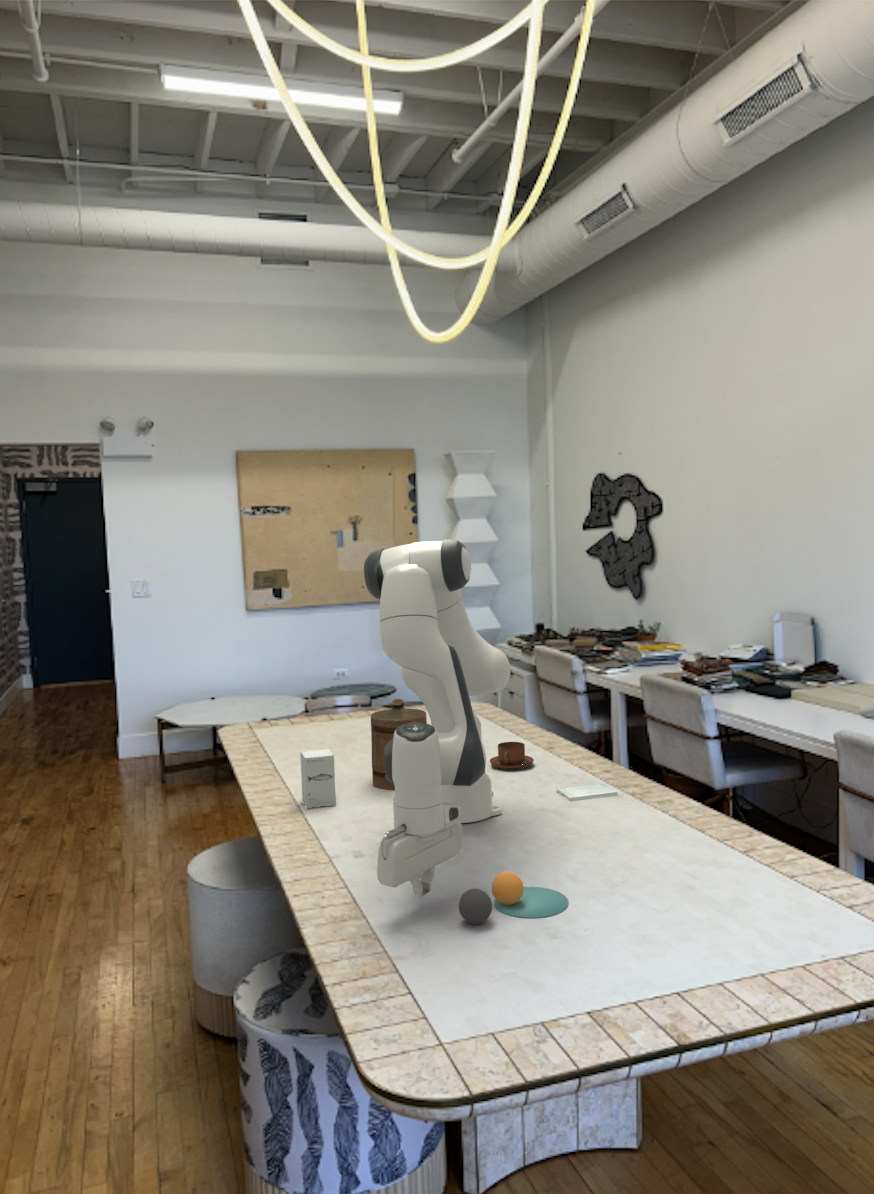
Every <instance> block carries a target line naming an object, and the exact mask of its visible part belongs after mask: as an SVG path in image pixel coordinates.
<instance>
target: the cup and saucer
mask: <svg viewBox="0 0 874 1194" xmlns="http://www.w3.org/2000/svg"><path fill="white" fill-rule="evenodd" d="M525 745H526V744H525V743H523V742H519V741H505V742H500V743H498V744H497V755H498V756H494V757H491V758H490V760H489V762H490V765H492V766H493V767H495V768H497V769H501V770H521V769H524V768H528V767H530V766H531V765H533V763H534V760H535V759H534V758H533V757H532V756H528V755H526V754H525V752H526V751H525V750H526V749H525V747H526V746H525ZM522 764H523V765H522Z"/></svg>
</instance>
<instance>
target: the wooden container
mask: <svg viewBox="0 0 874 1194" xmlns="http://www.w3.org/2000/svg"><path fill="white" fill-rule="evenodd" d="M390 703H391V706H392V708H391V709H390V708H389V709H381V710H379V711H378V710H377V711H375V712H372V713H371V715H370V728H371V729H370V732H371V733H370V735H371V737H370V738H371V770H372V773H371V774H372V784H373V786H374V787H377V788H380V789H383V790H384V789H385V790H389V791H390V790H394V791H395V786H394V785H393V784H391V783H390V782H389V781H388V780H387V779H386V778H385V775H386V763H385V756H384V748H385V746H386V745H387V744H388V743H389V742H390V741H391V740H392V739H393V738H394V732H395V730H396V729H397V728H398V727H400V726H402V725H404V724H408V723H415V722H419V723H426V724H428V721H427V720H428V719H427V711H425V710H422V709H418V708H406V707H405V700H404V699H401V698H394V700H392V701H391V702H390Z"/></svg>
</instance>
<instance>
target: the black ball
mask: <svg viewBox="0 0 874 1194" xmlns="http://www.w3.org/2000/svg"><path fill="white" fill-rule="evenodd" d="M492 911H493V902H492V898H491V896H489V894H488V893H487V892H486V891H484V889H480V888H470V889H468V890H466V891H465V892H463V894H462V895H461V897H460V898H459V901H458V912H459V914H460V916H461V918H462V919H463V920H464V921H466V922H467V923H469V924H471V925H472V924H473V925H480V924H483V923H484V922H486V921H487V920H488V919H489V917H490V916H491V914H492Z"/></svg>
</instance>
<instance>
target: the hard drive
mask: <svg viewBox="0 0 874 1194" xmlns="http://www.w3.org/2000/svg"><path fill="white" fill-rule="evenodd" d="M556 793H557V794H559V795H560V796H561V797H563V798H564V799H566V800H567V801H569V802H574V801H584V800H590V799H591V800H592V799H600V798H607V797H615V796H616V797H617V796H618V791H617V790H615V789H613V787H611V786H609V785H607V784H605V783H599V784H598V783H596V784H589V785H578V786H571V787H563V788H556Z"/></svg>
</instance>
